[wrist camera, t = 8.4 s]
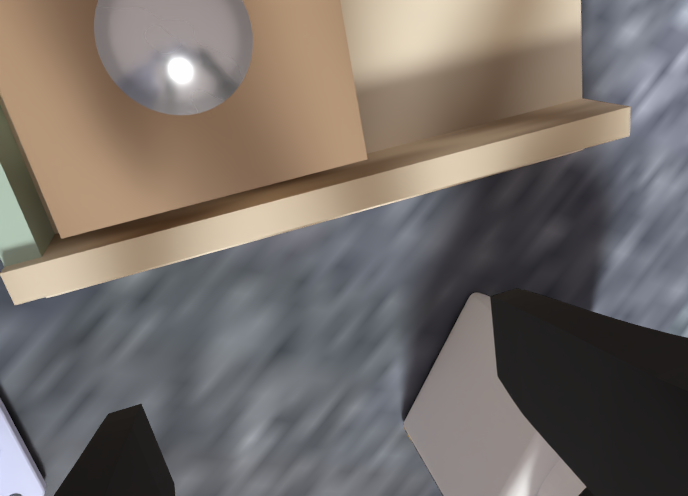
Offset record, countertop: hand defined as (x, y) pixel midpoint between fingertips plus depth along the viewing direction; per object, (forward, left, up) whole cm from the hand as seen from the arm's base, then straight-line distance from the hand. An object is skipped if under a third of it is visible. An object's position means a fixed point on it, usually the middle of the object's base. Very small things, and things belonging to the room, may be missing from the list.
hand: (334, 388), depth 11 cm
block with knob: (-1, +7, -9) cm, 12 cm away
